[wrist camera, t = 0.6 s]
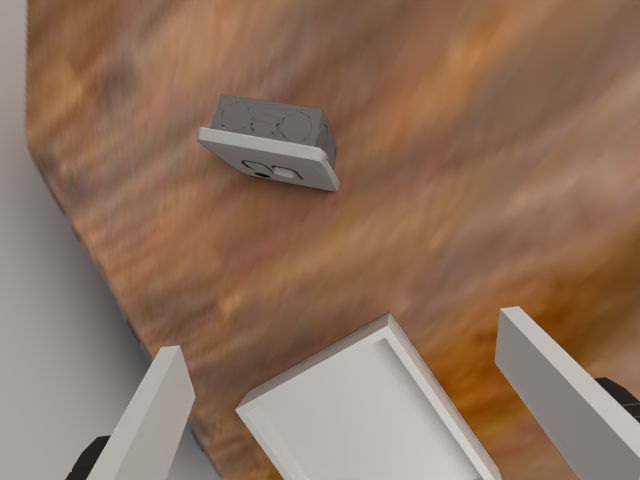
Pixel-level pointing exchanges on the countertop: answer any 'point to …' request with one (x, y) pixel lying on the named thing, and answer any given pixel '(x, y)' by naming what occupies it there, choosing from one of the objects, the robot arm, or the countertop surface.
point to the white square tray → (364, 415)
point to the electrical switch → (273, 141)
